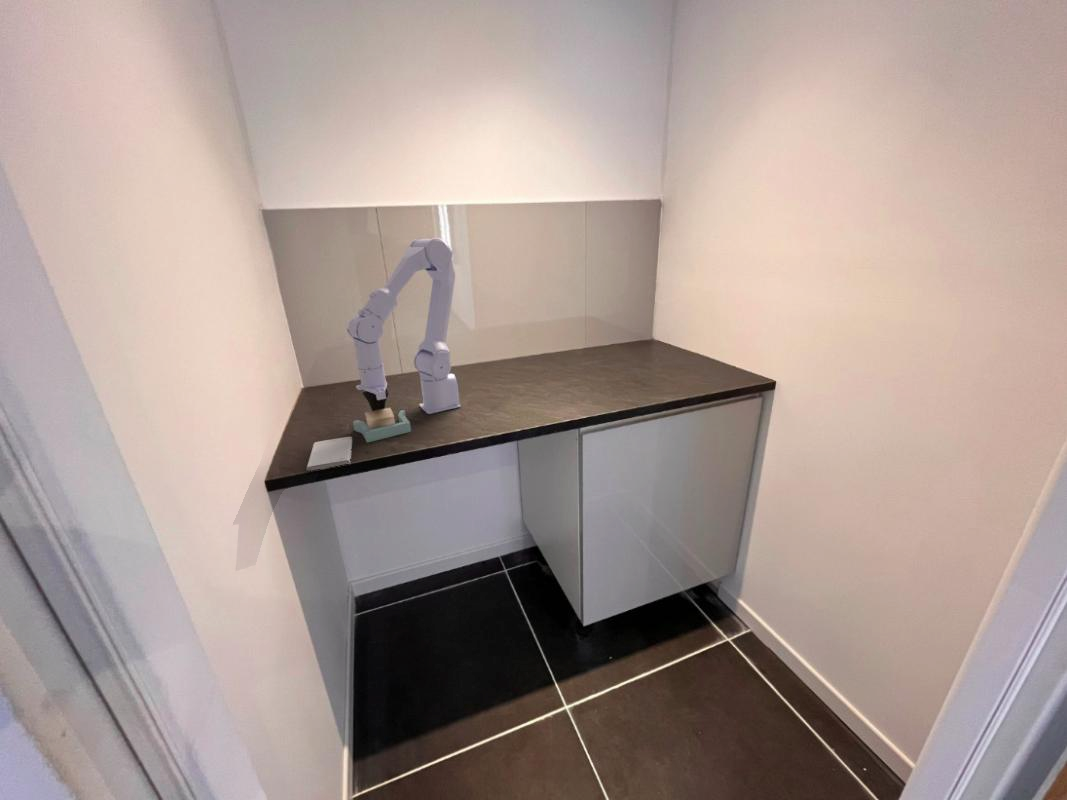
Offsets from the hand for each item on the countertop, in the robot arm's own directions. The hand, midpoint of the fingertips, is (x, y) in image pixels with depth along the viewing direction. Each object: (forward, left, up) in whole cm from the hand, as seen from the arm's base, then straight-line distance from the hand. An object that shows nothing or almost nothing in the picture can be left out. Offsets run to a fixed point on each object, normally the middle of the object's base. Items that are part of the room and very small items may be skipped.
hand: (379, 417), depth 106 cm
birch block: (+1, +4, -2) cm, 4 cm away
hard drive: (+13, +10, -3) cm, 17 cm away
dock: (0, +5, -2) cm, 5 cm away
